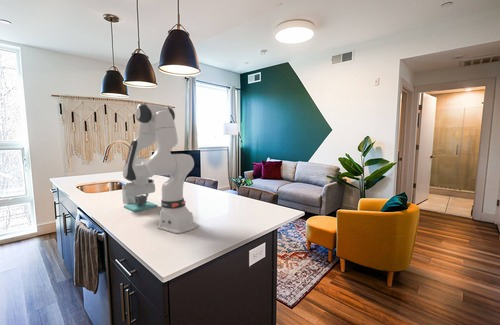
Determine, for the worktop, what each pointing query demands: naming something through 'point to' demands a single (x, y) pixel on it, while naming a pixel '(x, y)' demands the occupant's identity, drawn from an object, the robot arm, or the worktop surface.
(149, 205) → the board
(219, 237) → the worktop surface
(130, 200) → the supplement box
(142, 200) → the knob
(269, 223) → the worktop surface
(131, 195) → the robot arm
